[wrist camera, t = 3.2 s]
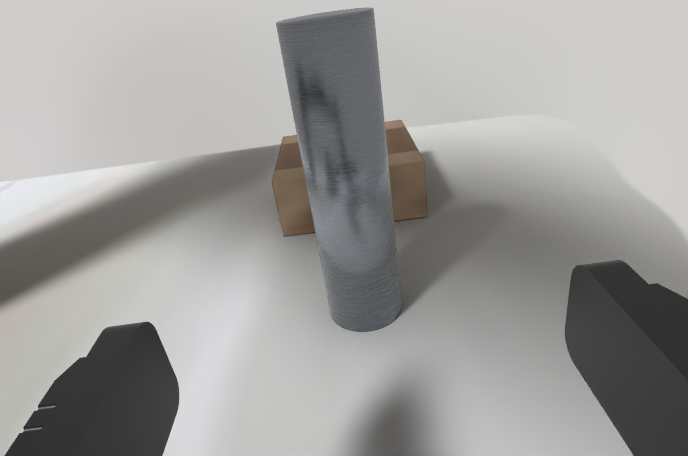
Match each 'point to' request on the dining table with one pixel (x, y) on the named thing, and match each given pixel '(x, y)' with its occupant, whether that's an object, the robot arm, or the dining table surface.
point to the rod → (345, 160)
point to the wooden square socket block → (402, 171)
